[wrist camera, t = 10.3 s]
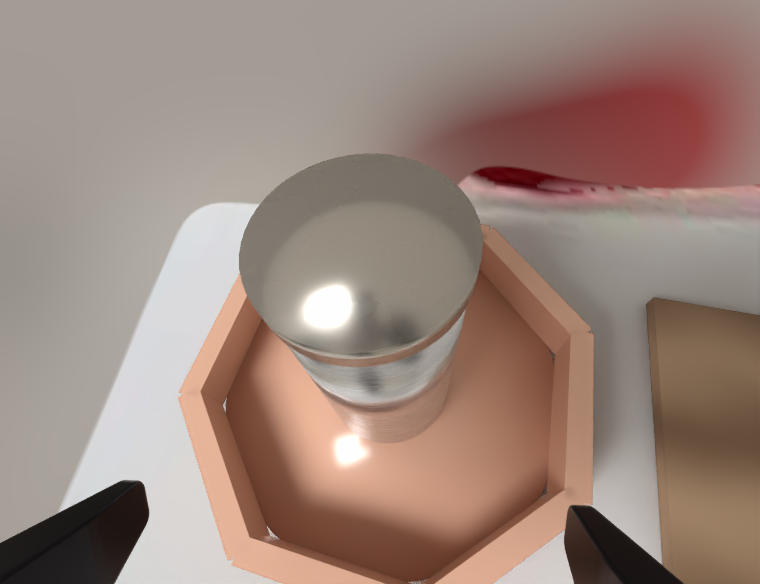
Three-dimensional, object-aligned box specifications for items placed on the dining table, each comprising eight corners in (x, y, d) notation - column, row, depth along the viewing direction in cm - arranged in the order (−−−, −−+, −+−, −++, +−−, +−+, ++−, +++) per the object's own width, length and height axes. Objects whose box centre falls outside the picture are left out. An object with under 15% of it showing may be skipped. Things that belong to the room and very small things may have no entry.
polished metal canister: (471, 414, 19) (533, 288, 9) (352, 467, 19) (271, 396, 8) (418, 311, 22) (418, 129, 12) (313, 352, 22) (219, 197, 11)
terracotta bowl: (557, 661, 15) (591, 694, 12) (160, 522, 19) (111, 522, 16) (572, 277, 24) (594, 241, 21) (295, 230, 27) (280, 194, 24)
